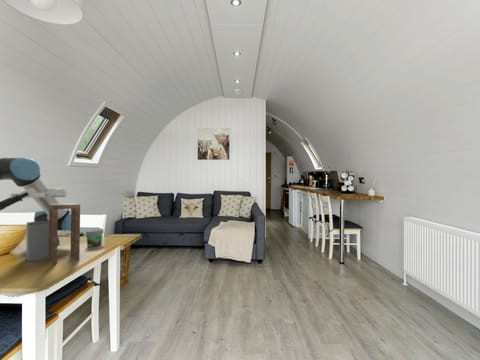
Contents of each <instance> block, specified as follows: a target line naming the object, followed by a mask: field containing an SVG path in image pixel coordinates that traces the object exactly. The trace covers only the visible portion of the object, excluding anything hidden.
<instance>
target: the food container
mask: <svg viewBox="0 0 480 360" xmlns="http://www.w3.org/2000/svg"><path fill="white" fill-rule="evenodd" d="M104 233H105V231H104V229H103V228H99V229H98V230H93V231H86V233H85V236H86V246H87V248H96V247H99V246H102V243H103V236H104V235H103V234H104Z"/></svg>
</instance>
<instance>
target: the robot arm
mask: <svg viewBox="0 0 480 360" xmlns="http://www.w3.org/2000/svg"><path fill="white" fill-rule="evenodd" d="M40 170H41V168H40V165H39V164H38V162H37V161H35V160H34V159H33V158H32V159H31V158H28V157H2V158H0V181H5V180H11V181H12V182H13V183H14V184H15V185H16V186H17V187H19V188H23V189H24V191H22V192H20V193H19V192H18V193H15V194H18V195H17V196H15V197H13V198H11V196H10V197H8V198H5V199H4V200H1V201H0V211H2V210H5V209H6V208H8V207H10V206H12V205H14V204H16V203H19V202H23V201H24V200H23V199H27V198H26V197H28V196H30V195H33V194H35V193H45V189H49V188H48V187H47V186H46V185H45V184H44V182H43V181H42V180H41V179H40V178H41V177H42V176H41V174H40V173H41V171H40ZM32 199H33V200H34V202H36V203H37V205H38V206H39V207H40V208H41V209H42V210H39V211H38V210H37V211H35V212H34V217H33V219H34V220H33V222H37V221H49V204H61V203H60V201H59V200H58V199H57V197H37V198H32ZM58 231H60V232H67V231H68V232H69V231H70V232H71V210H70V209H58ZM60 242H61V240H60V238H59V235H58V234H57V246H59V245H60V244H61V243H60Z"/></svg>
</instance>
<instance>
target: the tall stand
mask: <svg viewBox="0 0 480 360" xmlns="http://www.w3.org/2000/svg"><path fill="white" fill-rule="evenodd" d="M58 209H68V210H70V212H71V230H70V258H73V260H75V261H79V260H80V243H81V240H80V239H81V238H80V237H81V236H80V235H81V203H78V202H70V203H68V202H67V203H60V204H49V258H48V262H51V265H57V263H58V245H57V235H58V231H59V230H58Z"/></svg>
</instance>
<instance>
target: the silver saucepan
mask: <svg viewBox="0 0 480 360" xmlns="http://www.w3.org/2000/svg"><path fill="white" fill-rule="evenodd" d="M18 194H19V193H17V194H16V193H10V197H11V198H13V197H15V196H17V195H18ZM37 197H55V198H67V188H48V189H45V193H35V194H33V195H30V196H28V197H26V198H25V199H29V198H30V199H31V198H32V199H33V198H37Z"/></svg>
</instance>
